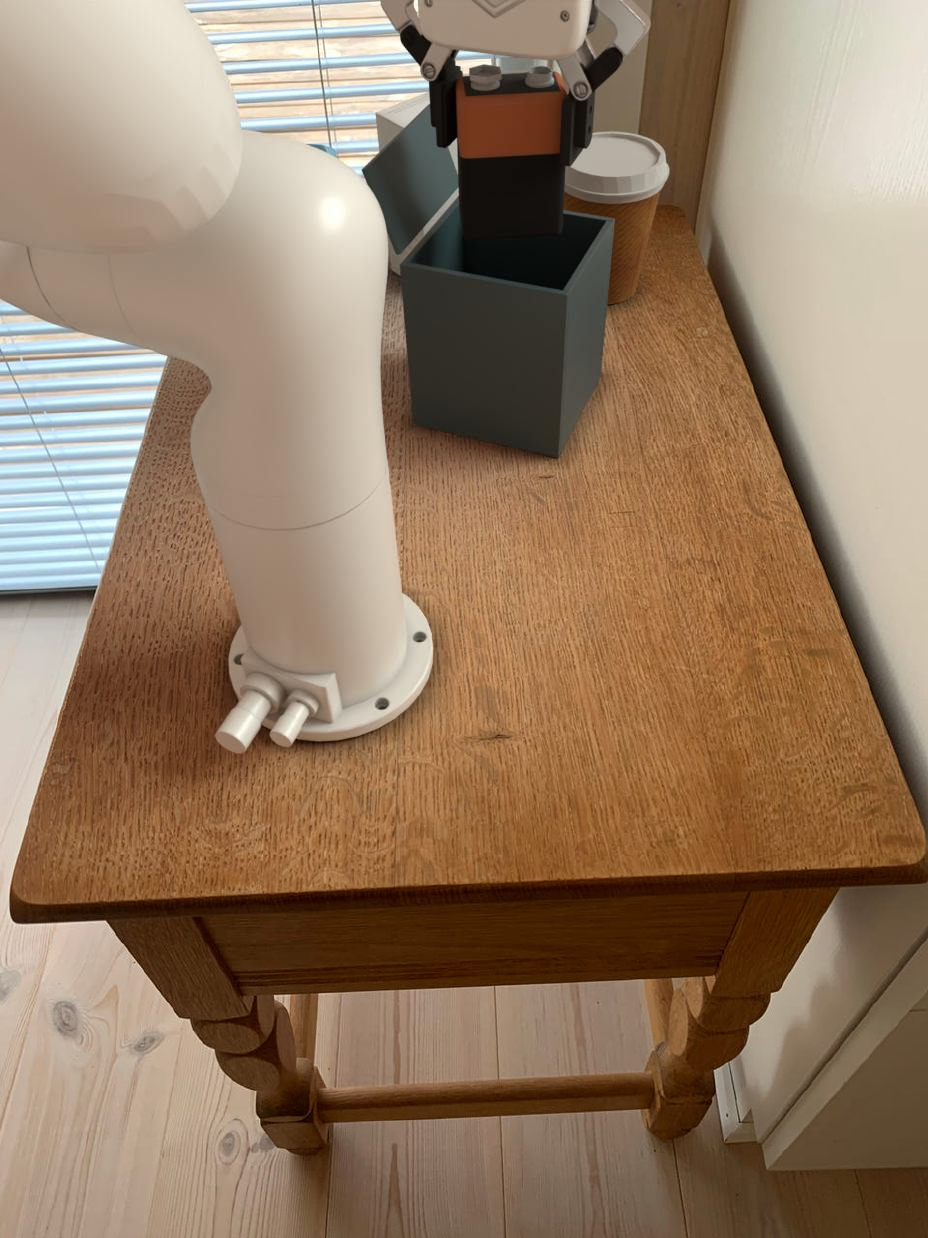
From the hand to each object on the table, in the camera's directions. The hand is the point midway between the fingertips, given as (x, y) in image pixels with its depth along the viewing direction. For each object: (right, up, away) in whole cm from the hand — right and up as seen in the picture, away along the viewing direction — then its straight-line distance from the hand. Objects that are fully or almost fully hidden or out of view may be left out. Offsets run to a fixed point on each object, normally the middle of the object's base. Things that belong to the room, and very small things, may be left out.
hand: (510, 146), depth 64 cm
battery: (0, -4, +4) cm, 6 cm away
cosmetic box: (-5, +2, +29) cm, 29 cm away
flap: (-6, 0, +4) cm, 7 cm away
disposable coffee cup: (+10, -1, +26) cm, 28 cm away
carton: (+1, -13, +15) cm, 20 cm away
